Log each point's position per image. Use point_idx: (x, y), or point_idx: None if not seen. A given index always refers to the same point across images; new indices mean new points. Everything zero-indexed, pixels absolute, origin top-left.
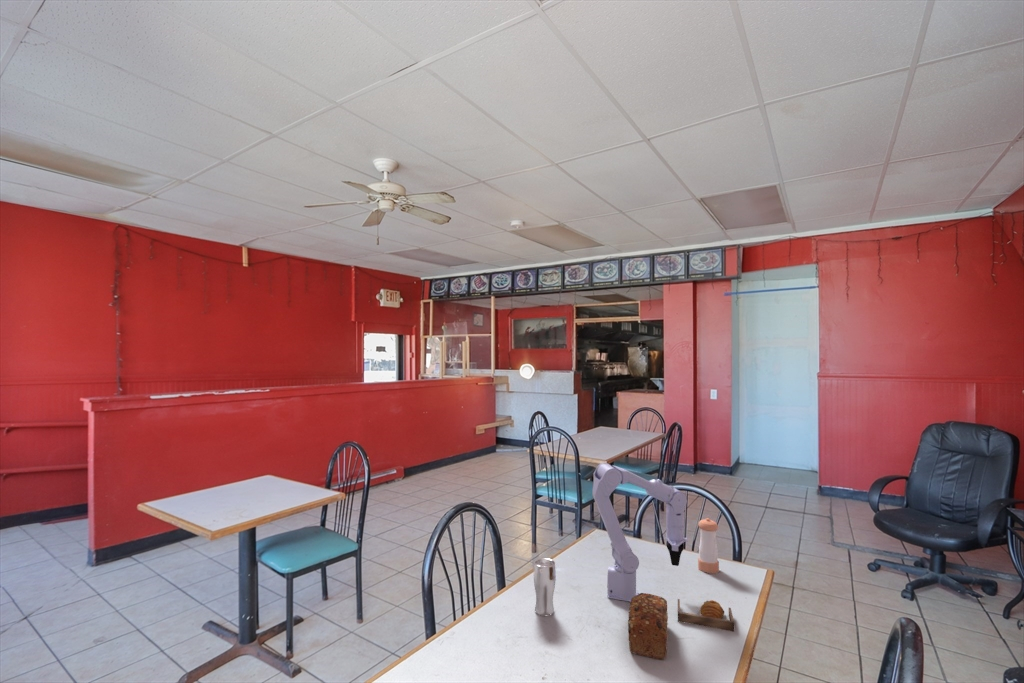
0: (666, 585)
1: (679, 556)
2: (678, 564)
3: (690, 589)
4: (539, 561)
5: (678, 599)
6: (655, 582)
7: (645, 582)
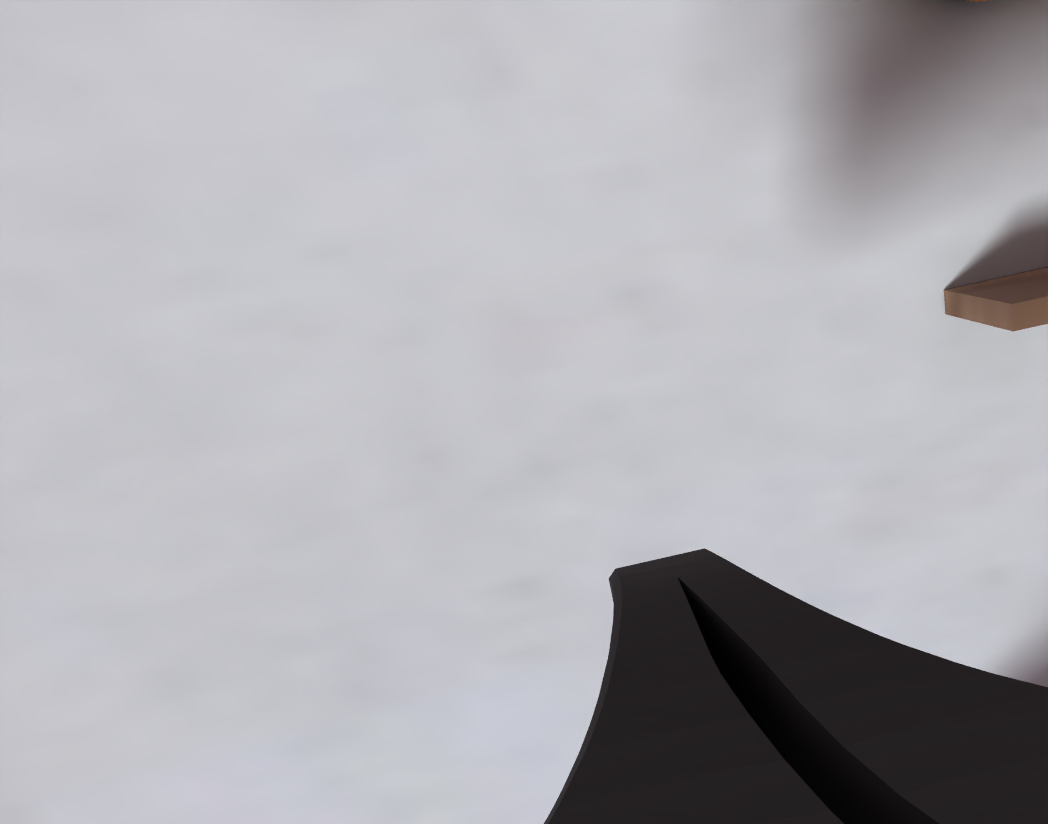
0: (420, 570)
1: (912, 662)
2: (719, 559)
3: (342, 263)
4: None
5: (1023, 316)
6: (418, 701)
7: (492, 791)
